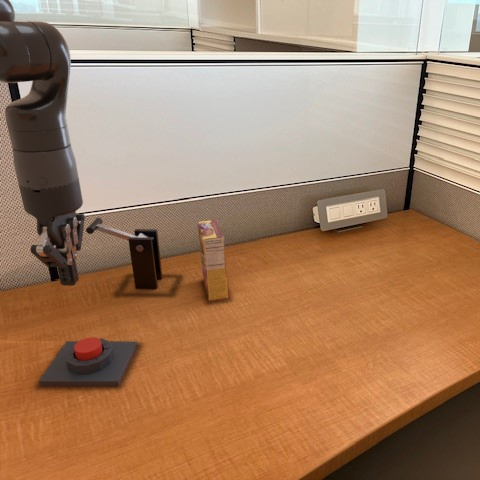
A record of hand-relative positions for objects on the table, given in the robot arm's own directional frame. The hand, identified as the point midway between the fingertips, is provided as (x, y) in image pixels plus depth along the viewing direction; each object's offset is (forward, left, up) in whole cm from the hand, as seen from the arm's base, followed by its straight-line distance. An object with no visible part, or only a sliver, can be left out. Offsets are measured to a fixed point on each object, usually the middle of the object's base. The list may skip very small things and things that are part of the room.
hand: (70, 283), depth 75 cm
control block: (+2, -1, -15) cm, 16 cm away
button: (+2, -1, -12) cm, 12 cm away
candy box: (+10, +27, -16) cm, 32 cm away
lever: (-9, +22, -4) cm, 24 cm away
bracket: (-4, +24, -15) cm, 29 cm away
